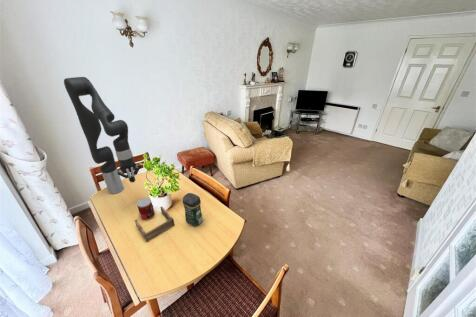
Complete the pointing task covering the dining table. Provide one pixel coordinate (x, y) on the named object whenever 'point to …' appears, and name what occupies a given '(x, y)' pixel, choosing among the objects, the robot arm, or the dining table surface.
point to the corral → (158, 229)
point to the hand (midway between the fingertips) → (132, 181)
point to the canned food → (145, 208)
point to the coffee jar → (192, 209)
